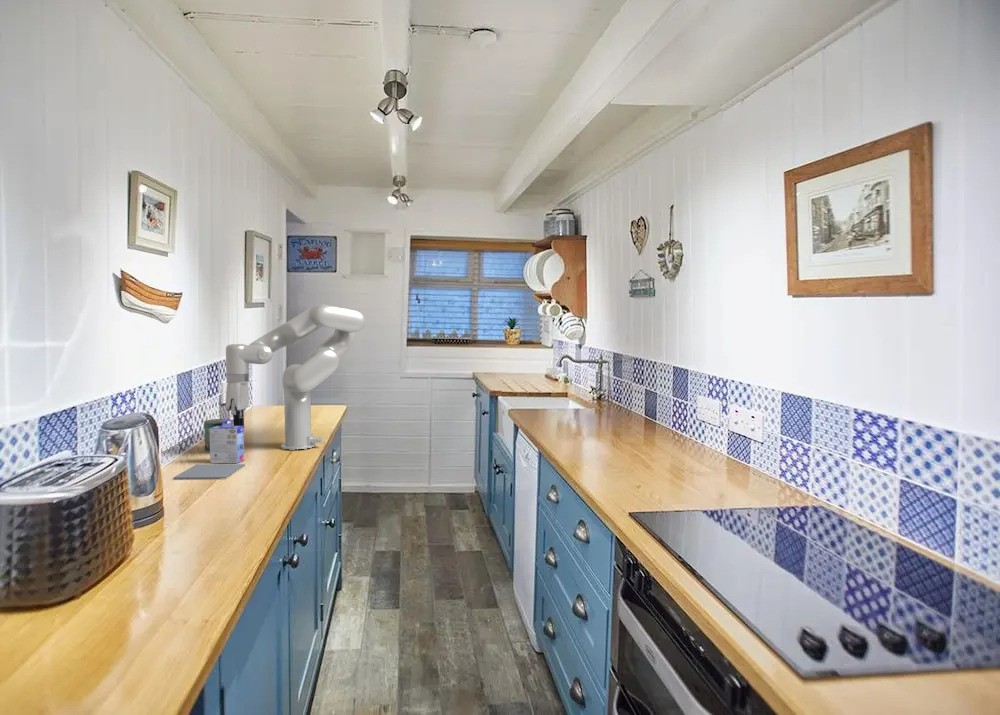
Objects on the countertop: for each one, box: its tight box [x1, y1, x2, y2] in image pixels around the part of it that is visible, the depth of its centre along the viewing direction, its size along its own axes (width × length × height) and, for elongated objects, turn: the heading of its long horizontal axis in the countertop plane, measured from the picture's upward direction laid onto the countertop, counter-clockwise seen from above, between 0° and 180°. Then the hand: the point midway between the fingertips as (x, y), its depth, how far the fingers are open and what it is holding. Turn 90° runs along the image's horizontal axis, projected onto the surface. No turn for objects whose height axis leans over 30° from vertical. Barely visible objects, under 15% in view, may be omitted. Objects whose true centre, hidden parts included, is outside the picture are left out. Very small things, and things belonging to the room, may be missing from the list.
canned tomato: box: [203, 418, 228, 453], centre depth 229 cm, size 8×8×11 cm
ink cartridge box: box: [209, 418, 245, 464], centre depth 212 cm, size 10×6×14 cm, turn 89°
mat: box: [172, 463, 246, 480], centre depth 198 cm, size 16×16×1 cm
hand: (238, 428), depth 223 cm, fingers closed
